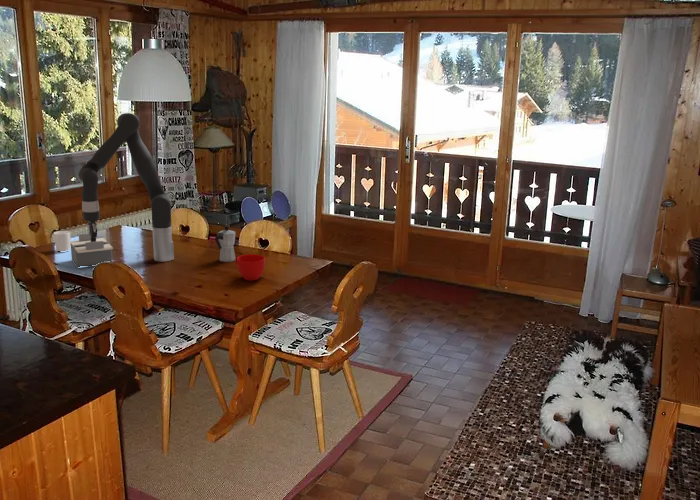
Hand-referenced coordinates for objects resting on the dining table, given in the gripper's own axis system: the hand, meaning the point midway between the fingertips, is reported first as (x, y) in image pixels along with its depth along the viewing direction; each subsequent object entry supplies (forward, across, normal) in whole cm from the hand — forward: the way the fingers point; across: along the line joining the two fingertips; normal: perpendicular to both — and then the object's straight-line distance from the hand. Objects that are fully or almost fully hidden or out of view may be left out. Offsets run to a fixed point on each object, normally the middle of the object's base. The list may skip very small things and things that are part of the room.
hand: (93, 244), depth 320 cm
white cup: (+11, +37, +10) cm, 40 cm away
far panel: (+2, +13, 0) cm, 13 cm away
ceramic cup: (+12, -47, -60) cm, 78 cm away
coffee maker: (+12, -15, -61) cm, 64 cm away
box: (+11, +9, 0) cm, 14 cm away
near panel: (+2, 0, 0) cm, 2 cm away
